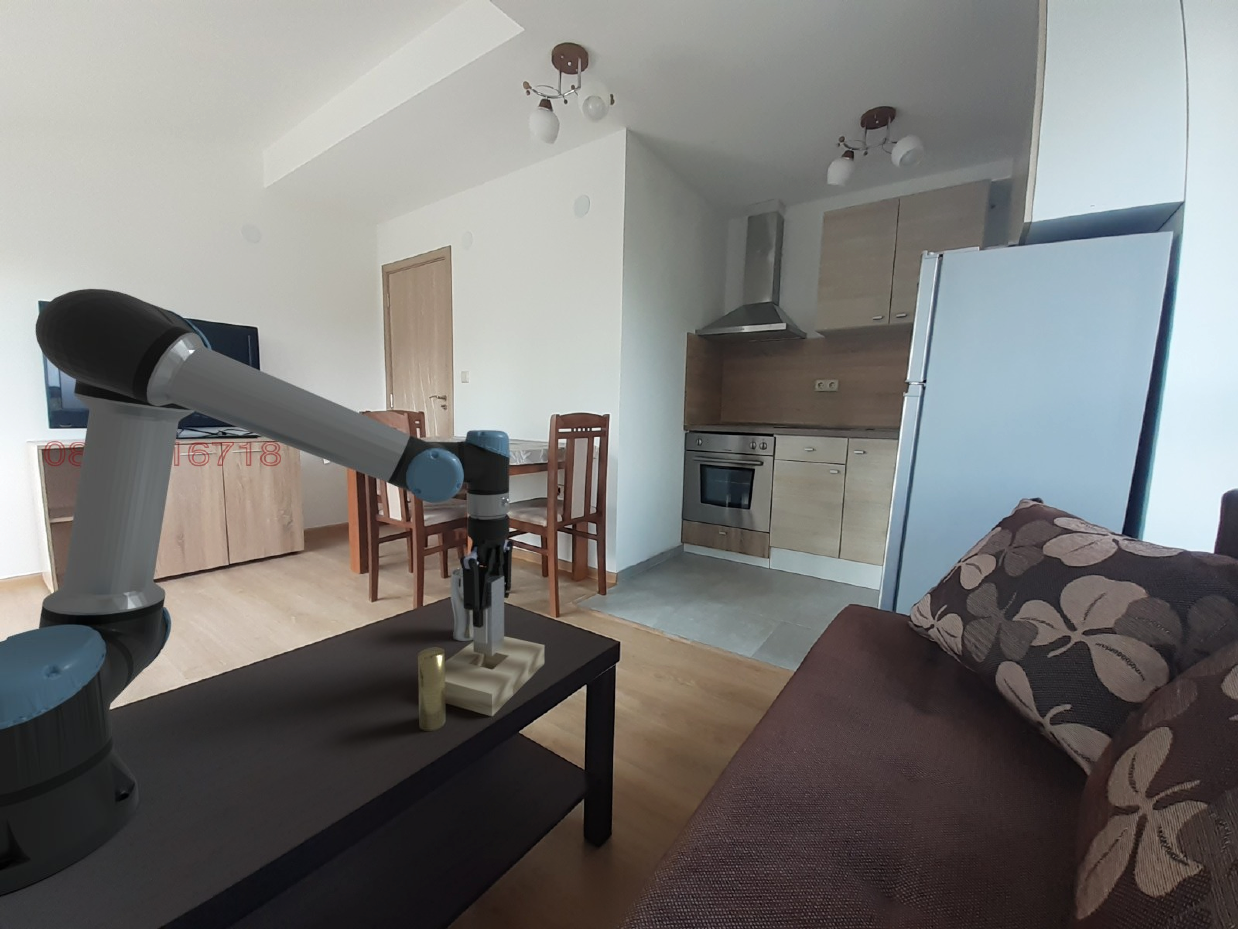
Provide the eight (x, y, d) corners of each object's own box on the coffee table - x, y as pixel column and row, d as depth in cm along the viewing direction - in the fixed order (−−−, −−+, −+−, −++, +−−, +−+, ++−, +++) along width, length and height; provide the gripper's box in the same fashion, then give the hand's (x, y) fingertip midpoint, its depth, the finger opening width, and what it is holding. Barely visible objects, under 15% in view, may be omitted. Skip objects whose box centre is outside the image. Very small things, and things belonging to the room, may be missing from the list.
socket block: (492, 716, 79) (492, 694, 79) (425, 697, 84) (424, 676, 83) (544, 663, 96) (544, 645, 95) (486, 650, 101) (486, 632, 100)
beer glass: (449, 631, 109) (448, 568, 107) (480, 626, 112) (480, 564, 110) (452, 644, 102) (451, 578, 101) (485, 639, 105) (485, 574, 104)
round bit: (433, 733, 74) (432, 662, 73) (413, 727, 76) (412, 657, 74) (450, 718, 78) (450, 650, 77) (431, 712, 80) (430, 645, 78)
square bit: (491, 656, 87) (491, 583, 85) (473, 651, 88) (473, 579, 86) (504, 646, 90) (504, 575, 89) (486, 642, 92) (486, 572, 90)
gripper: (476, 527, 77) (477, 662, 80) (530, 508, 93) (529, 621, 96) (439, 522, 79) (441, 653, 82) (498, 504, 95) (498, 614, 98)
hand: (488, 635), depth 89 cm, fingers closed on square bit, 4 cm apart
